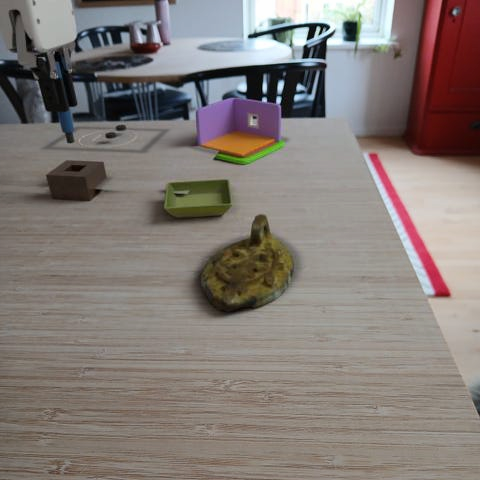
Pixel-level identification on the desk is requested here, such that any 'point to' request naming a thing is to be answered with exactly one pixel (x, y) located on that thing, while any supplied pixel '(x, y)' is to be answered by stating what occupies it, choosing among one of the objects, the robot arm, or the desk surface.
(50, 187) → the stand
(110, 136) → the dot
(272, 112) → the miniature room corner
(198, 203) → the green rectangular tray
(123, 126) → the dot
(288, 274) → the seal
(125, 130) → the ring
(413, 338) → the desk surface
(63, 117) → the blue rod
